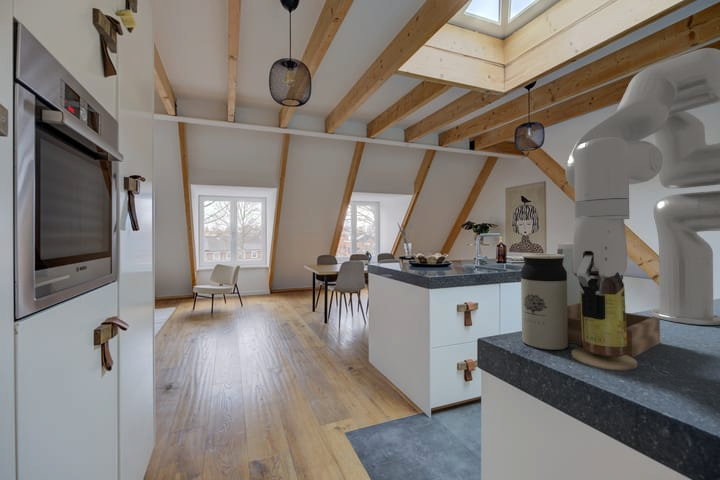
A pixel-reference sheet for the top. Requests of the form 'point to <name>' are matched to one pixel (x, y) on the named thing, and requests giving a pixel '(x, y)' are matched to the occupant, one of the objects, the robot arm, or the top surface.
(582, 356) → the disc
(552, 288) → the stoneware storage canister
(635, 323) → the wooden open box
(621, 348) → the sauce bottle
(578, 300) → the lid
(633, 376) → the top surface
